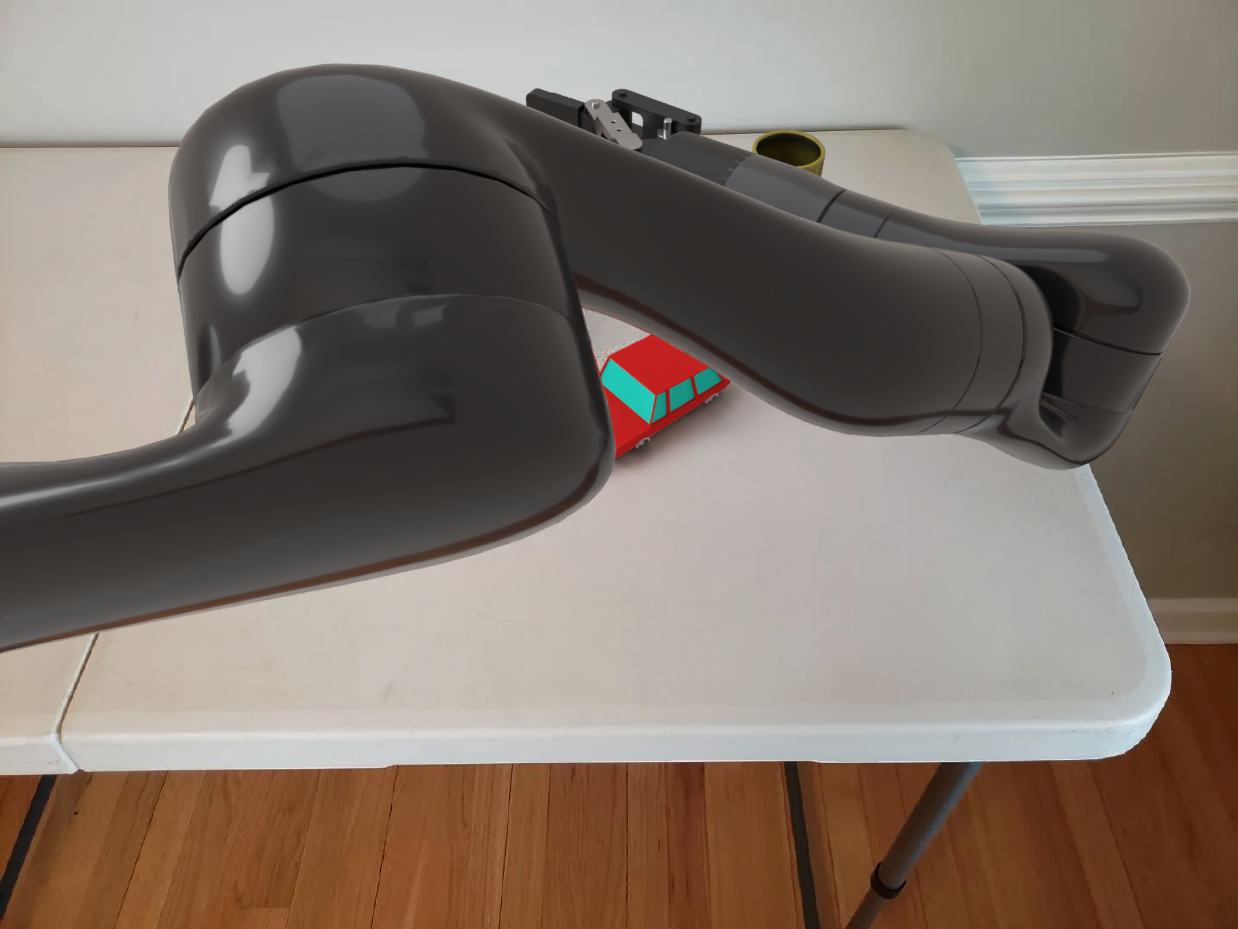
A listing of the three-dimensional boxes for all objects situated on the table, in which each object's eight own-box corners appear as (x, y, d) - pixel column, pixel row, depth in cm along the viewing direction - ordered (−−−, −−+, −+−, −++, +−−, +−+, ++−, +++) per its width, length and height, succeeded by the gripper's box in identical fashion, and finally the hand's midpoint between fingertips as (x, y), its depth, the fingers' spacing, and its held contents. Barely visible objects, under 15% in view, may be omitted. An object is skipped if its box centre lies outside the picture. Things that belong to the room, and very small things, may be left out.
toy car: (553, 419, 68) (549, 380, 65) (672, 347, 73) (674, 308, 70) (609, 470, 65) (608, 432, 62) (730, 391, 70) (734, 352, 67)
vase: (714, 301, 77) (728, 146, 66) (765, 270, 79) (786, 116, 69) (768, 338, 74) (791, 182, 63) (819, 305, 76) (850, 149, 66)
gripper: (810, 99, 48) (553, 23, 53) (669, 241, 40) (387, 134, 46) (789, 222, 53) (560, 142, 59) (663, 367, 46) (413, 258, 51)
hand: (485, 138), depth 52 cm, fingers open, 8 cm apart
